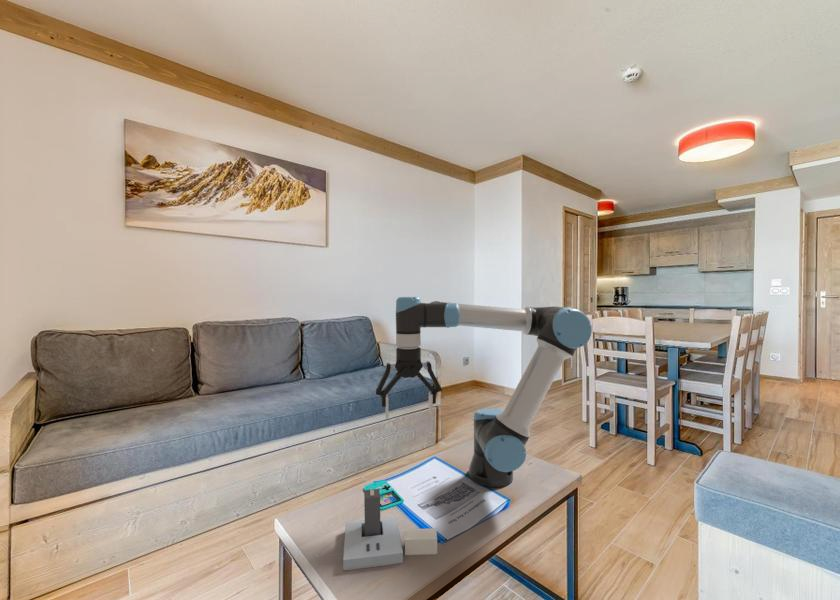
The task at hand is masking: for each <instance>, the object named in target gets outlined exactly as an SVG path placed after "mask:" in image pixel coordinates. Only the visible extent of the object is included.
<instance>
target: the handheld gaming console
mask: <svg viewBox="0 0 840 600" xmlns="http://www.w3.org/2000/svg"><path fill="white" fill-rule="evenodd" d="M371 489H379V491H380V501H382V500H383V502H384V503H385V504H381V503H380V511H385V510H388V509H391V508H394V507H397V506H400V505H402V504H404V503H405V499H404V498H403V497H402V496H401V495H400V494H399V493H398V492H397V491H396V490H395V488H394V487H392V486H391V485H390V484H389V482H387V480H378V481H374V482H372V483H371V482H370V483H369V484H366V485H365V486H364V487H363V491H364V490H371ZM393 495H394V496H395V497H396V498H397V499H398V500H395V501H391V502H389V503H387V504H386V502H387V501H389V499H388V498H390V497H391V498H392V497H393ZM383 498H386V499H383ZM403 502H404V503H403Z"/></svg>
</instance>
